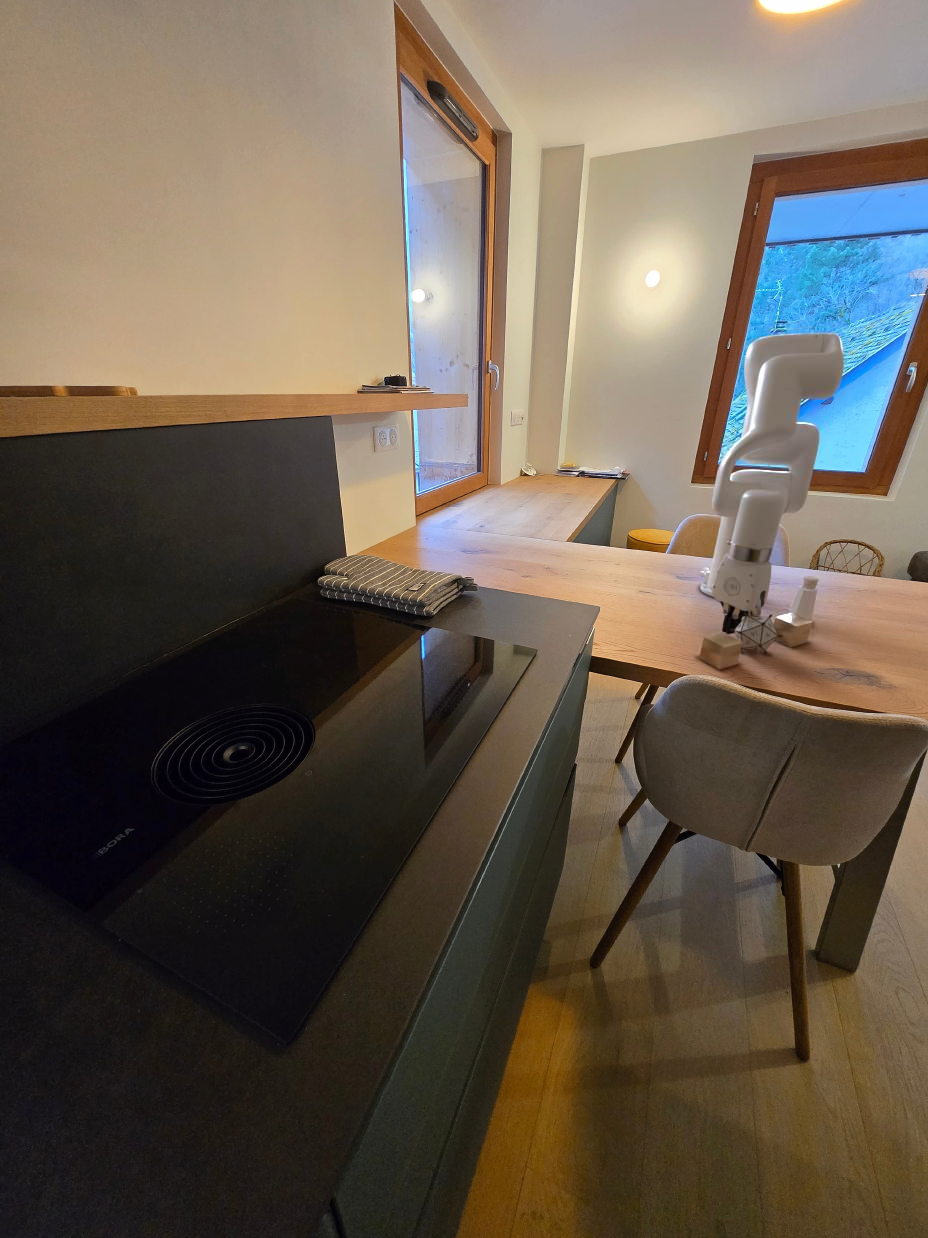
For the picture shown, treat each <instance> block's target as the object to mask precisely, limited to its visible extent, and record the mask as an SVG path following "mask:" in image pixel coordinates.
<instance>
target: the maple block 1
mask: <svg viewBox="0 0 928 1238" xmlns="http://www.w3.org/2000/svg"><path fill="white" fill-rule="evenodd" d="M701 643H702V644H701V647H700V651H699V657H698V658H699V659H700V660H702V661H703V662H705V663H706V664H709V665H711V667H714V668H715V669H717V670H719V671H720V670H723V669H726V668H729V667H733V666H735V665H738V663H739V659H740V655H741V652H742V651H741V648H742V644H743V642H741V641H739V640H738V639H737V638H735V637H733V636H731V635H730V634H729V635H728V634H726V632H725V633H724V632H722V631H720V632H717V633H713V634H709V635H705V636H703V639H702V642H701Z"/></svg>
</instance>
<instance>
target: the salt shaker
mask: <svg viewBox="0 0 928 1238" xmlns="http://www.w3.org/2000/svg"><path fill="white" fill-rule="evenodd" d="M819 581H820V580H819V578H818V577H816V576H810V575H806V576H804V577H803V580H802V584H801V585H799V586H798V588H797V590H796V592H795V595H794V598H793V599H792V601H791V604H790V607H789V609H788V611H787V613H786V614H789V613H792V614H795V615H797V616H800V617H802V618H805V619H807V620H810V621H812V620H813V619H812V618H813V613H814V610H815V609H814V608H815V603H816V599H817V593H818V588H817V585H818V582H819Z"/></svg>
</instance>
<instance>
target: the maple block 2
mask: <svg viewBox="0 0 928 1238" xmlns="http://www.w3.org/2000/svg"><path fill="white" fill-rule="evenodd" d="M773 625H774V627H775V629H776V631H777V633H778V635H782V636H784V637H777V639H776V640H775V641H776V642H778V643H781V644H783V645H785V646H787V647H788V648H793V647H796V646H799V645H803V644H806V643H807V641H808V639H809V637H810V633H811V629H812V626H813V625H814V622H813V621H812V620H811V621H810V620H807V619H805V618H802V617H800V616H797V615H795V614H792V613H789V614H787V613H785V614H782V615H778V616H775V618H774V620H773Z"/></svg>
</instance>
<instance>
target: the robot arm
mask: <svg viewBox="0 0 928 1238" xmlns="http://www.w3.org/2000/svg"><path fill="white" fill-rule="evenodd" d="M745 352H746V353H745V357H744V363H743V365H744V368H743V375H744V376H743V377H744V384H745V385H744V386H745V390H746V398H747V407H746V411H745V416H744V421H743V427H742V431H741V436H740V439H739V440H738V441H736V442H735V444H733V445H732V446H731V447H730V448H729V449H728V451H727V452H726V453H725V455H723V458H722V459H721V461H720V464H719V466H718V468H717V472H716V475H715V476H716V477H715V481H714V486H713V491H712V497H711V509H712V511H713V513H714V514H715V515H717V516H719V517H720V518H721V519H720V524H719V529H718V533H717V537H716V541H715V542H716V543H715V547H714V552H713V555H712V561H711V565H710V568H708V567H705V566H703V567H702V568H701V569H700V570H699V571H698V573H697V575H698V577H699V576H700V577H702V578H704V581H701V584H700V586H699V589H700V590H701V592H703V594H705V595H707V596H710V597H712V598H714V600H716V602H718V603H719V604H720V605H721V607H722V613H723V615H724V617H723V622H722V627H721V632H723V633H725V634H727V635H729V636H730V635H732V634H735V632H734V631H731V630H730V629H735V628H736V627H737V626H738V625H739V623H740V622H741V621H742V620H743V618H744V617H745V614H744V612H746V613H747V615H751V616H753V617H756V616H761V615H762V608H764V606H765V604H766V603H767V598H768V595H769V591H770V587H771V586H770V585H771V579H772V563H771V562H770V560H771V557H772V552H773V549H774V545H775V541H776V538H777V534H778V531H779V527H780V523H781V520H782V516H783V515H784V514H795V513H797V512H799V511H801V509H803V507H804V505H805V503H806V501H807V498H808V493H809V491H810V490H809V489H810V487H811V486H810V485H811V482H812V481H811V480H812V476H813V472H814V468H815V464H816V460H817V456H818V450H819V446H820V430H819V428H818V427H817V426H816V425H815V424H813V423H808V422H798V419H799V414H800V407H801V403H802V400H825V399H829V398H830V397H833V395H835V393H836V392H837V391H838V389H839V387H840V384H841V382H842V378H843V375H844V370H845V369H844V367H845V355H844V349H843V342H842V339H841V336H839V334H837V333H832V332H816V333H815V332H814V333H787V334H786V333H785V334H772V335H771V334H770V335H766V336H761V337H759V338H756V339H754V340H753V341H752V342H751V343H750V344H749V346H748V347H747V350H746V351H745ZM738 461H741V462H743V463H745V464H752V465H765V466H783V467H787V469H788V471H781V470H779V471H778V470H764V469H742V470H741V469H740V470H736V471H735V472H733V469H734V467H735V466H736V464H737V462H738Z"/></svg>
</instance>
